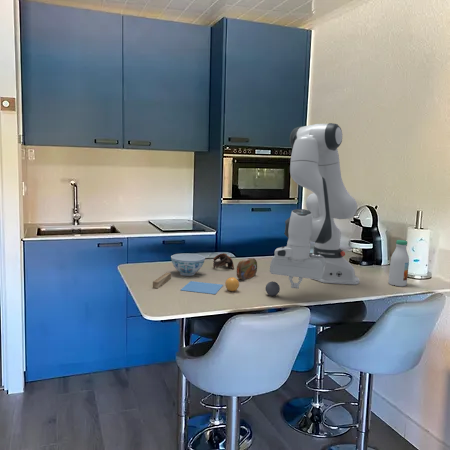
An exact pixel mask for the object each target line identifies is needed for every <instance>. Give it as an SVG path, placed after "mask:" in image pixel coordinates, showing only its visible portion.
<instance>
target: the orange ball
mask: <svg viewBox="0 0 450 450" xmlns="http://www.w3.org/2000/svg"><path fill="white" fill-rule="evenodd" d="M224 283H225V284H224V286H225V288H226V289H227V291H230V292H235V291H237V290H238V289H239V286H240V281H239V280H238V279H237V278H236V277H234V276H232V277H228V278H227V279H226V280H225V282H224Z"/></svg>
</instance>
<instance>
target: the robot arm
mask: <svg viewBox="0 0 450 450" xmlns="http://www.w3.org/2000/svg"><path fill="white" fill-rule="evenodd" d="M342 142H343V130H342V128H341V126H340V125H338V124H337V123H333V122H329V123H314V124H310V125H309V124H308V125H305V126H297V127H295V128H293V129H292V131H291V132H290V135H289V143H290V144H289V145H290V146H291V148H292V150H291V154H290V155H291V156H290V165H289V173H290V177H291V179H292V181H294V183H296V185H299V186H300V187H302V188H305V189H307V190H309V191H311V192H312V193H310V194H309V195H308V196H307V198H306V201H305V206H306V209H303V208H296V209H295V208H294V209H293V210H291V213H290V217H288V218H287V219H286V220H285V221H284V222H285V227H284V228H285V229H284V236H285V237H287V242H286V243H287V244H286V246H281V247H277V248H276V249H275V250H274V252H273V253H274V256H273V257H272V258H271V261H270V265H269V272H270V274H271V275H277V276H286V277H288V281H289V282H290V284H291V285H290V288H291V289H299V288H300V285H301V283H302V282H303V279H304V278H305V279H310V280H311V279H312V280H313V281H314V280H315V281H318V282H320V283H323V284H340V285H355V286H356V285H359V284H360V278H359V277H358V276H356V271H355V268H354V266H353V265H352V264H351V263H350V262H349V261H348V260H347V259H346V258H345V256H346V252H345V251H344V250H343V249H341V248H340V247H341V236H342V233H341V229H340V228H338V226H337V225H336V223H335V220H334V219H337V220H349V219H352V218H353V217H354V216H355V214H357V210H358V204H357V201H356V199H355V198H354V197H353V196H352V195H351V194H350V193H349V191H348V190H347V188H346V187H345V184H344V181H343V178H342V173H341V172H342V171H341V165H340V157H339V156H340V155H339V151H338V150H339V149H338V148H339V147H340V146H341V144H342ZM311 243H314V246H313V248H312V249H313V250H312V253H311V247H312V246H311V245H312V244H311ZM294 277H295V278H298V282H294V280H293V278H294Z"/></svg>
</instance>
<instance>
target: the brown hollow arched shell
mask: <svg viewBox="0 0 450 450" xmlns="http://www.w3.org/2000/svg"><path fill="white" fill-rule="evenodd" d="M212 262H213V264H212V265H213V269H216V268H219V267H222V266H225V267H226V265H227V267H228V268H232V270H235V266H234V261H233V259H232V258H231V257H230V256H229V255H228V254H227V253H226V252H225V253H219V254H217V255H216V256H215V257H213V261H212Z"/></svg>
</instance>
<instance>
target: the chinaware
mask: <svg viewBox="0 0 450 450" xmlns="http://www.w3.org/2000/svg"><path fill="white" fill-rule="evenodd" d="M170 258H171V263H172V265H173V268H175V270H176V271H178V272H179V274H180V276H186V277H189V276H190V277H191V276H195V274H196V272H198V271H199V270H200V269H202V267H203V265H204V263H205V259H206V257H205V256H203V255H202V254H197V253H175V254H173V255H171V256H170Z"/></svg>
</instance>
